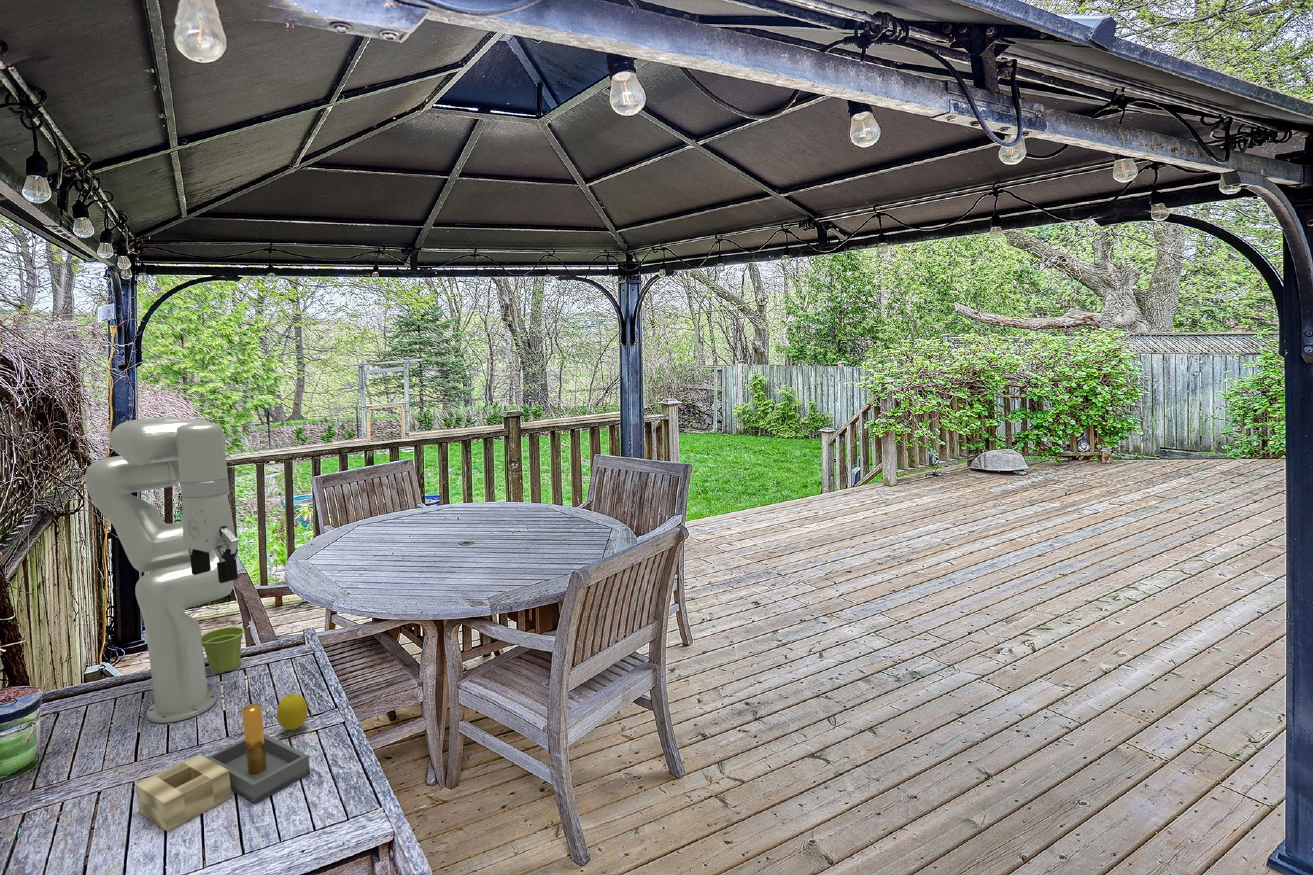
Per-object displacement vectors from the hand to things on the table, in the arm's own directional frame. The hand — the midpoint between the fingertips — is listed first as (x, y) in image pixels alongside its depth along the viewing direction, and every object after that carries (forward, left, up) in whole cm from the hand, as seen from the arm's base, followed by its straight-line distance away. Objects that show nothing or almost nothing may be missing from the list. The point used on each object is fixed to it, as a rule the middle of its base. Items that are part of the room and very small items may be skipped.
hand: (214, 576), depth 133 cm
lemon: (+6, +9, -34) cm, 36 cm away
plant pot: (-36, +17, -34) cm, 53 cm away
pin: (+14, -3, -33) cm, 36 cm away
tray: (+14, -3, -34) cm, 37 cm away
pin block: (+12, -14, -34) cm, 39 cm away
